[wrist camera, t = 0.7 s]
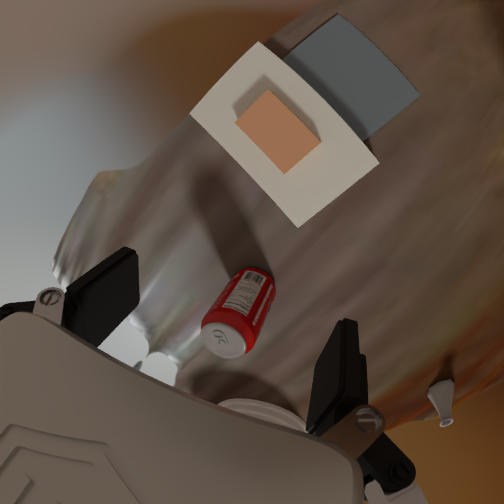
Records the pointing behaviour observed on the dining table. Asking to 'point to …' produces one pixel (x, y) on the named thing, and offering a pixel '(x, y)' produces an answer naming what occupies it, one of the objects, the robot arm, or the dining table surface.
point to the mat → (352, 76)
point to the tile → (277, 131)
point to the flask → (442, 400)
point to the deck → (309, 112)
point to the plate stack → (265, 412)
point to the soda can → (238, 314)
